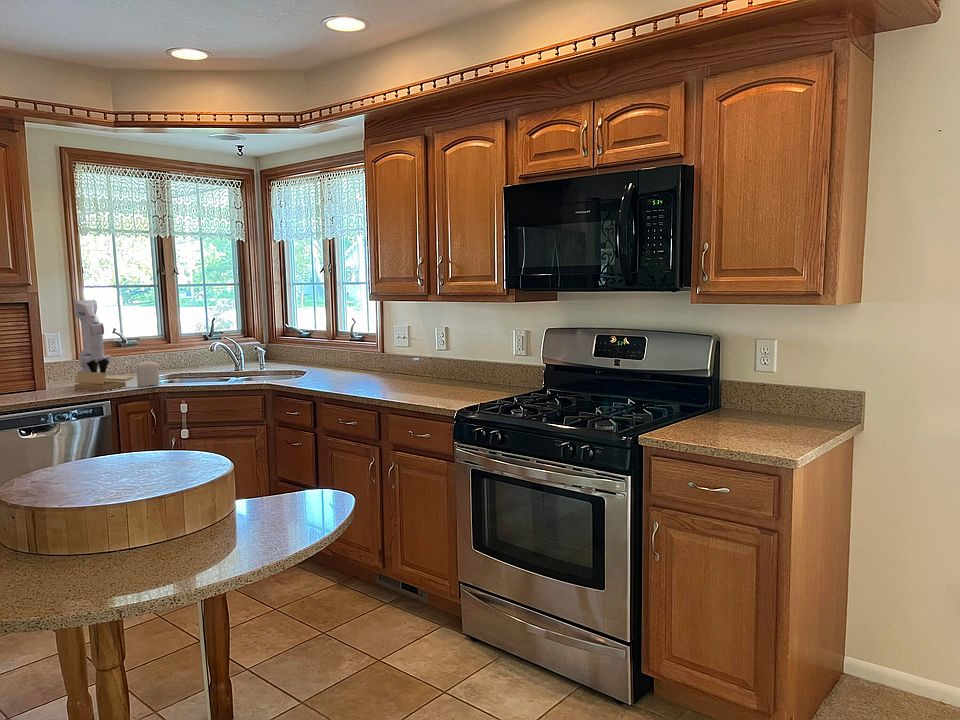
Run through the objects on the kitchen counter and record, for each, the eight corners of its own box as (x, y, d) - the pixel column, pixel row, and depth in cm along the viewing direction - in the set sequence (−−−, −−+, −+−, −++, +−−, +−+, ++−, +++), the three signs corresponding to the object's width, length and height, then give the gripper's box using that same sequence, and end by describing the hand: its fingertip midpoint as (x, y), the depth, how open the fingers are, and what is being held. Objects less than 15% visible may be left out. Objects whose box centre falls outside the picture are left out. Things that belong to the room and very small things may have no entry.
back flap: (106, 375, 380) (106, 377, 380) (98, 378, 375) (98, 380, 375) (133, 376, 374) (133, 378, 375) (124, 379, 369) (125, 381, 370)
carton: (74, 390, 362) (74, 384, 362) (97, 386, 375) (97, 380, 375) (103, 391, 356) (103, 385, 356) (125, 387, 370) (125, 381, 369)
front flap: (75, 382, 362) (74, 382, 361) (79, 372, 364) (78, 371, 363) (103, 384, 357) (101, 383, 356) (107, 373, 359) (105, 372, 358)
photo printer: (158, 384, 381) (157, 361, 379) (160, 385, 377) (158, 361, 376) (136, 386, 375) (135, 362, 374) (138, 387, 372) (137, 363, 370)
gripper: (91, 349, 355) (93, 377, 356) (115, 347, 369) (116, 373, 370) (80, 349, 357) (81, 376, 359) (103, 346, 371) (105, 373, 372)
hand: (98, 375), depth 365 cm, fingers open, 4 cm apart
